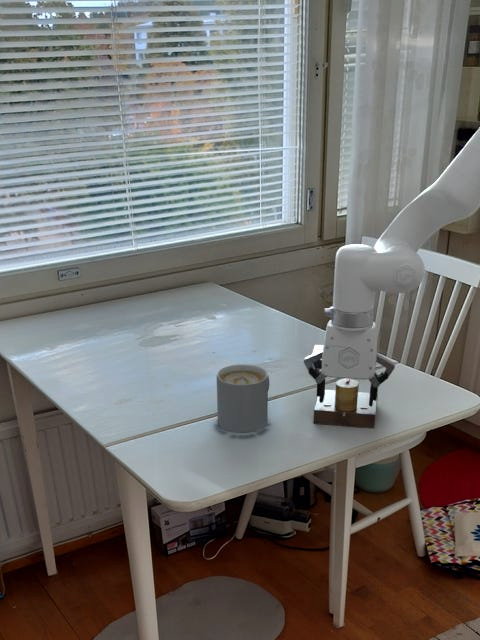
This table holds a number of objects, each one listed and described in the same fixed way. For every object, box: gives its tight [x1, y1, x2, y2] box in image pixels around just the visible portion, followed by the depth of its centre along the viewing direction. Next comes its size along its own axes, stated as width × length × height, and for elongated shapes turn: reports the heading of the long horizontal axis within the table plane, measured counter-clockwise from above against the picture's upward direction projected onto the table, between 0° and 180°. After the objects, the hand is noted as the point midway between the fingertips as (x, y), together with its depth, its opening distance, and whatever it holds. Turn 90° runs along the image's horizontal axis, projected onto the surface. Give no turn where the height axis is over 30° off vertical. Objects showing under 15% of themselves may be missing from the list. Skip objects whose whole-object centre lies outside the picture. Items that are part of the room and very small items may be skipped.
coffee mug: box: [216, 363, 270, 434], centre depth 154 cm, size 13×10×10 cm
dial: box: [335, 378, 360, 411], centre depth 153 cm, size 4×4×5 cm
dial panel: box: [312, 389, 379, 429], centre depth 157 cm, size 12×12×3 cm
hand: (346, 401), depth 154 cm, fingers open, 9 cm apart
